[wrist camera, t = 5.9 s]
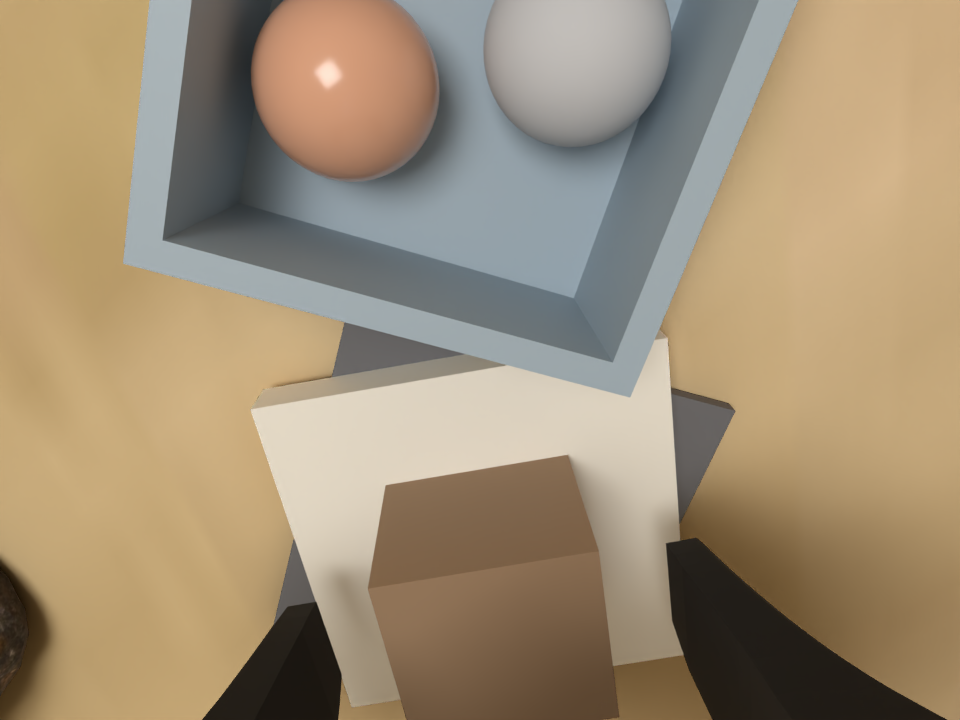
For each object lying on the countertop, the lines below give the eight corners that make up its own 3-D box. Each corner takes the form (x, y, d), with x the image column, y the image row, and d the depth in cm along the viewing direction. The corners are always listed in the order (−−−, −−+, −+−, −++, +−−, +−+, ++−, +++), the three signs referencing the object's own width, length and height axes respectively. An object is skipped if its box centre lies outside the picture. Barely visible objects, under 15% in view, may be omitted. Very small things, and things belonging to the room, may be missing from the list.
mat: (728, 403, 15) (735, 411, 15) (594, 678, 18) (597, 691, 18) (350, 301, 14) (348, 306, 14) (276, 617, 17) (272, 628, 17)
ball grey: (667, -6, 12) (735, -39, 9) (607, 161, 13) (651, 178, 10) (508, -65, 11) (527, -118, 8) (460, 114, 12) (462, 118, 9)
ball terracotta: (460, 27, 12) (463, 6, 9) (418, 191, 13) (408, 217, 10) (294, -29, 11) (242, -70, 8) (264, 145, 12) (210, 159, 10)
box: (738, -92, 11) (875, -183, 8) (584, 320, 14) (629, 397, 11) (288, -268, 10) (197, -473, 7) (216, 217, 13) (122, 263, 9)
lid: (653, 321, 14) (731, 408, 10) (674, 624, 17) (739, 778, 13) (263, 388, 14) (191, 499, 10) (357, 675, 17) (330, 841, 13)
